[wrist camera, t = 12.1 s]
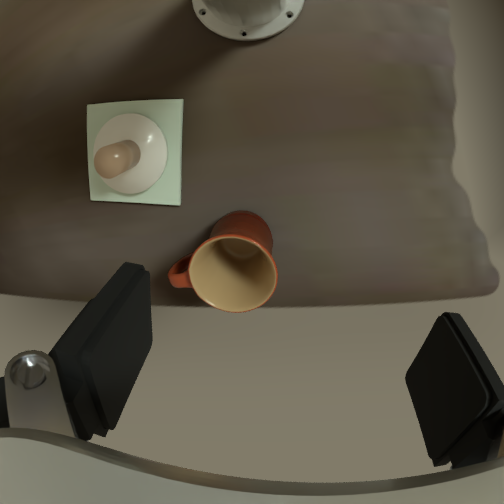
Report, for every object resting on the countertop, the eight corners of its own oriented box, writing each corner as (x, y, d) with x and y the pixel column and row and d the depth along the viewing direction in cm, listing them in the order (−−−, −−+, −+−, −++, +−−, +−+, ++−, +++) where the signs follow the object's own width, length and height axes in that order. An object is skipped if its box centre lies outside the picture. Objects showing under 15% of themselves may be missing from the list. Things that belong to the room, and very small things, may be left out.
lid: (96, 115, 33) (69, 120, 28) (169, 111, 33) (149, 113, 28) (99, 190, 38) (75, 205, 33) (168, 193, 38) (151, 208, 32)
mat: (89, 104, 33) (87, 104, 33) (183, 99, 33) (182, 99, 32) (92, 198, 39) (90, 200, 39) (180, 204, 39) (179, 205, 38)
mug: (269, 195, 37) (266, 226, 28) (284, 259, 41) (285, 306, 32) (176, 215, 39) (147, 251, 30) (197, 274, 43) (176, 321, 34)
